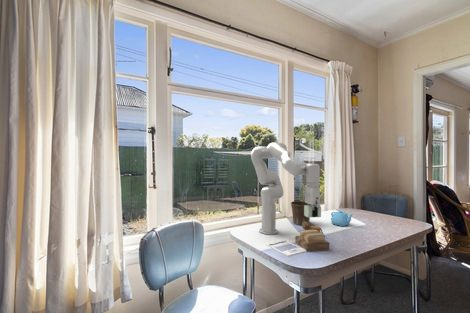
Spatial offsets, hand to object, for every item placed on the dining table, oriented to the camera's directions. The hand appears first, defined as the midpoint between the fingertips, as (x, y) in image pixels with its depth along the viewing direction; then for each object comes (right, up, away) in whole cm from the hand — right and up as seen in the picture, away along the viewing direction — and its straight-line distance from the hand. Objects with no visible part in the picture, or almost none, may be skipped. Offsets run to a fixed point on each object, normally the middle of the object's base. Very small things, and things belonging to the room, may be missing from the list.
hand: (312, 215), depth 145 cm
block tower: (0, -18, 0) cm, 18 cm away
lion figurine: (+6, -18, +18) cm, 27 cm away
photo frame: (-16, -19, -3) cm, 25 cm away
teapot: (+37, -19, +46) cm, 62 cm away
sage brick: (0, -1, 0) cm, 1 cm away
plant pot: (+6, -18, +48) cm, 51 cm away
